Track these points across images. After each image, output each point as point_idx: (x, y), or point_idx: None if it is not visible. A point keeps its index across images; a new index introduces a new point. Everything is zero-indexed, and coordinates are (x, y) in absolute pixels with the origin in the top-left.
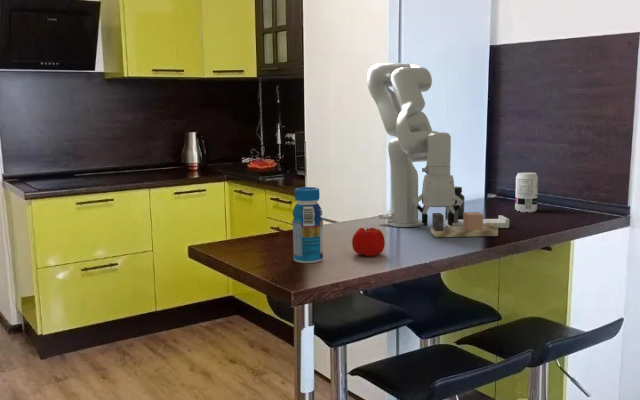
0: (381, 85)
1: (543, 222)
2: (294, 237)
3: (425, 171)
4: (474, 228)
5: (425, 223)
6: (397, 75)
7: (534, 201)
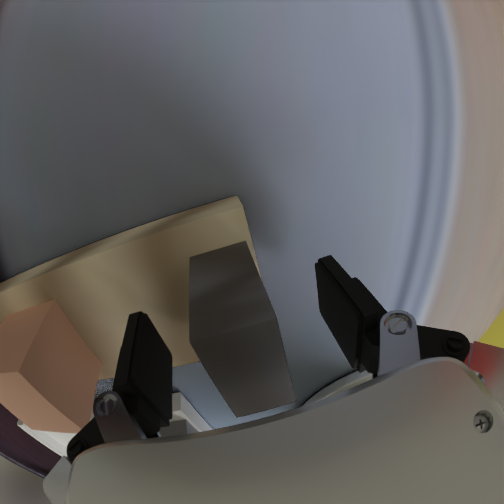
0: None
1: (13, 433)
2: None
3: None
4: (25, 314)
5: (338, 263)
6: None
7: None
